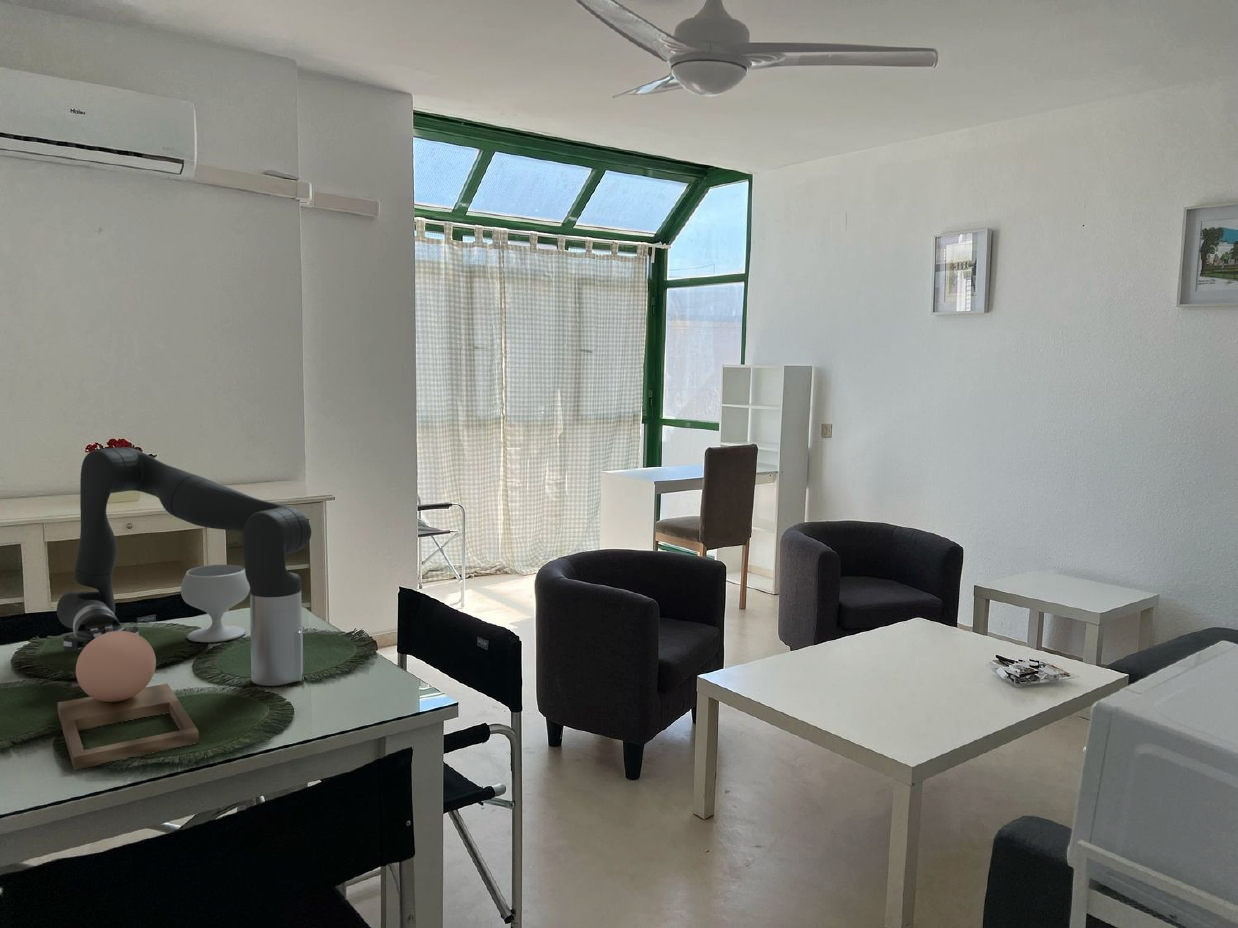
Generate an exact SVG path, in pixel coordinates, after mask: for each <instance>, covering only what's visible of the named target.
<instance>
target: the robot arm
mask: <svg viewBox="0 0 1238 928" xmlns="http://www.w3.org/2000/svg"><path fill="white" fill-rule="evenodd" d="M79 480H80V481H79V482H80V484H79V486H80V487H79V488H80V489H79V490H80V491H79V494H80V496H79V497H80V498H79V500H80V501H79V502H80V504H79V505H80V507H79V508H80V532H79V533H80V536H79V544H78V548H77V555H76V561H75V566H74V570H73V580H74V581H75V582H76V583H77V584H79V585H80V586H81V585H82V586H84V587H89V588H92V589H95V590H97V591H89V590H87V591H84V590H73V591H68V592H66V593H64V594H63V595H62V596H61V597H60V598H59V600H58V602H57V604H56V615H57V618H58V620H59V622H60V623H61V624H62V625H64V626H65V627H67V628H69V629H71V630H73V634H74V635H67V634H66V635H65V636H63V650H64V651H69V652H70V651H71V652H77V653H78V652H79V653H81V652H82V650H83V649H84V648H85V646H86V645H87V644H88V643H90V642H91V641H92V640H93V639H95V638H96V637H98V636H100V635H102V634H105V633H108V632H113V631H128V632H132V633H135V634H137V635H139V636H140V633H139V632H140V631H139V629H140V628H139V626H132V627H130V628H126V627H124V626H122V625H121V623H120V621H119V619H118V618H117V615H115V613H116V601H115V598H114V591H113V574H114V568H115V563H116V560H117V559H116V558H117V553H118V545H117V538H116V535H115V534H114V531H113V529H112V526H111V525H110V523H109V520H108V516H107V507H108V501H109V500H110V499H109V498H110V496H111V494H115V493H117V494H118V493H122V492H135V491H136V492H140V493H145V494H147V495H151V496H153V497H155V498H158V499H159V502H160V504H161V506H162V507H163V509H164V510H165V511H166V512H168V514H170V515H172V516H174V517H175V518H177V519H179V520H182V521H185V522H187V523H190V524H192V525H195V526H198V527H202V528H206V529H207V528H208V529H215V530H223V531H233V532H236V531H237V532H242V550H243V551H242V552H243V562H244V563H243V564H244V569H245V575H246V578H247V581H248V583H249V586H250V591H249V609H250V610H249V613H250V614H249V617H250V618H249V619H250V620H249V621H250V622H249V623H250V674H251V675H250V676H251V682H252V683H253V684H256V685H259V686H266V687H267V686H268V687H269V686H272V687H273V686H283V685H287V684H290V683H291V684H292V683H295V682H301V681H302V680H303V674H304V654H303V653H304V651H303V650H304V648H303V642H304V641H303V624H302V623H303V622H302V614H303V613H302V578H301V576H300V575H299V574H298V573H296V572H295V573H294V572H291V571H288V570H287V567H286V560H285V559H286V558H285V556H287V555H291V554H294V553H296V552H298V551H300V550H302V549H304V548H305V546H306V545H308V543H309V541H310V540H311V537H312V527H311V523H310V522H309V520H308V518H307V517H306V516H305V515H304V514H303V513H302V512H301V511H300V510H298V509H296V508H294V507H290V506H287V505H283V504H279V503H275V502H270V501H267V500H262V499H259V498H256V497H253V496H251V495H248V494H246V493H243V492H241V491H239V490H237V489H233V488H230V487H229V486H226V485H223V484H220V483H218V482H216V481H213V480H212V479H208V478H205V477H204V476H203V477H202V476H200V475H196V474H194V473H191V472H188V471H186V470H183V469H181V468H180V469H179V468H177V467H173V466H170V465H169V464H165V463H164V462H162V461H160V460H158V459H156V458H155V457H152V456H150V455H149V454H147V453H145V452H143V451H141V450H140V449H139V450H138V449H136V448H134V447H129V446H128V447H124V446H121V447H110V448H98V449H95V450H92V451H90V452H88V453H86V455H85V456H84V459H83V461H82V464H81V468H80V479H79Z"/></svg>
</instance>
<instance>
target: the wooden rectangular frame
mask: <svg viewBox="0 0 1238 928" xmlns="http://www.w3.org/2000/svg"><path fill="white" fill-rule="evenodd" d="M167 712H170V714H171V715H170V714H169V715H170V717H171V716H172V717H171V719H172V718H173V719H174V720H173V719H172V720H173V722H174V721H175V722H174V724H175V723H176V724H177V725H176V724H175V725H176V727H177V726H178V727H177V729H178V728H179V729H180V730H179V729H178V730H176V731H170V732H166V733H161V734H156V735H152V736H147V737H141V738H137V739H133V740H125V741H122V742H117V743H112V744H107V745H102V746H97V747H92V748H88V749H84V746H83V744H82V741H81V738H80V733H79V731H84V730H88V729H94V727H95V728H98V727H97V726H100V727H103V726H102V725H106V724H111V723H116V724H118V723H117V722H121V723H123V722H122V721H125V720H130V719H137V718H141V717H146V716H151V715H155V714H163V713H167ZM57 715H59V716H58V719H59V723H60V722H61V723H60V725H61V729H62V733H63V737H64V740H65V744H66V747H67V751H68V753H69V758H70V762H71V765H72V768H73V771H77V770H81V769H82V770H83V769H85V768H91V767H96V766H101V765H103V764H102V763H106V762H109V761H115V760H119V759H123V758H128V757H134V758H137V756H138V757H141V756H140V755H143V756H146V755H145V754H148V755H150V754H149V753H152V752H157V753H160V752H159V751H162V750H166V749H168V748H173V747H180V746H185V745H189V744H193V743H198V742H199V743H200V731H199V729H198V728H197V726H196V725H195V724H194V721H192V719H191V717H190V716H189V714H188V713H187V711H186V710H185V708H184V706H183V704H181V702H180V699H178V697H177V695H176V694H175V693H174V691H173V690H172V688H171V686H170V685H169V683H163V684H158V685H157V684H156V685H150V686H146V687H145V688H144V689H143V690H142V691H141V692H140V693H138V694H137V695H135V696H133V697H131V698H129V699H126V700H123V701H118V702H105V701H100V700H97V699H94V698H93V697H91V696H86V697H82V698H75V699H71V700H65V701H59V702H57ZM163 715H164V714H163ZM137 720H138V719H137ZM111 725H112V724H111ZM106 726H107V725H106ZM185 747H186V746H185ZM180 748H181V747H180ZM166 751H167V750H166ZM162 752H163V751H162ZM152 754H153V753H152ZM115 762H116V761H115ZM100 764H101V765H100ZM106 764H107V763H106Z"/></svg>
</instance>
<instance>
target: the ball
mask: <svg viewBox="0 0 1238 928" xmlns="http://www.w3.org/2000/svg"><path fill="white" fill-rule="evenodd" d="M79 653H80V654H79V656H78V657H77V660H76V661H77V662H76V665H75V676H76V680H77V683H78V685H79V687H80V688H81V690H82V691H83V692H84V693H85V694H86V695H88V697H93V698H94V699H97V700H100V701H105V702H118V701H123V700H126V699H129V698H131V697H133V696H135V695H137V694H138V693H140V692H141V691H142V690H143V689H144V688H145V687H148V685H149V684H150V682H151V681H152V678H153V677H154V674H155V671H156V665H157V664H156V662H157V659H156V658H157V657H156V655H155V651H154V649H153V647H152V645H151V644H150V643H149V642H148V641H147V640H146V639H145V638H144V637H143V636H141V635H140V634H139V635H137V634H135V633H132V632H128V631H113V632H108V633H105V634H102V635H100V636H98V637H96V638H95V639H93V640H92V641H91V642H90V643H88V644H87V645H86V646H85V648H84V649H83V650H82V652H79Z"/></svg>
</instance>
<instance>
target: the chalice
mask: <svg viewBox="0 0 1238 928" xmlns="http://www.w3.org/2000/svg"><path fill="white" fill-rule="evenodd" d="M180 594H181V597H182V599H183V601H184V603H186V604H187V605H189V606H190V607H193V608H195V609H198V610H201V611H203V612H204V613H206V614H208V615H209V617H210V619H211V625H210V626H206V627H203V628H199V629H195V630H192V631H190V633H188V634H187V635H186V639H187V638H188V640H189V641H192V642H196V643H198V642H200V643H217V642H218V643H219V642H220V643H221V642H226V641H231V640H235V639H238V638H240V637H243V636H245V634H246V633H247V630H246V629H245V628H244V627H242V626H237V625H223V623H222V617H223V616H224V614H225V613H226V612H227V611H228V610H230V609H231V608H233V607H235V606H236V605H238V604H240V603H241V602H243V601H244V600H245V599H246V598H247V597H248V596H249V594H250V586H249V583H248V581H247V578H246V575H245V567H244V566H243V567H242V566H241V565H238V564H237V565H235V564H212V565H210V564H209V565H203V566H198V567H193V568H190V569H189V570H187V571H186V573H185V574H184V576H183V579H182V582H181V587H180Z"/></svg>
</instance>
